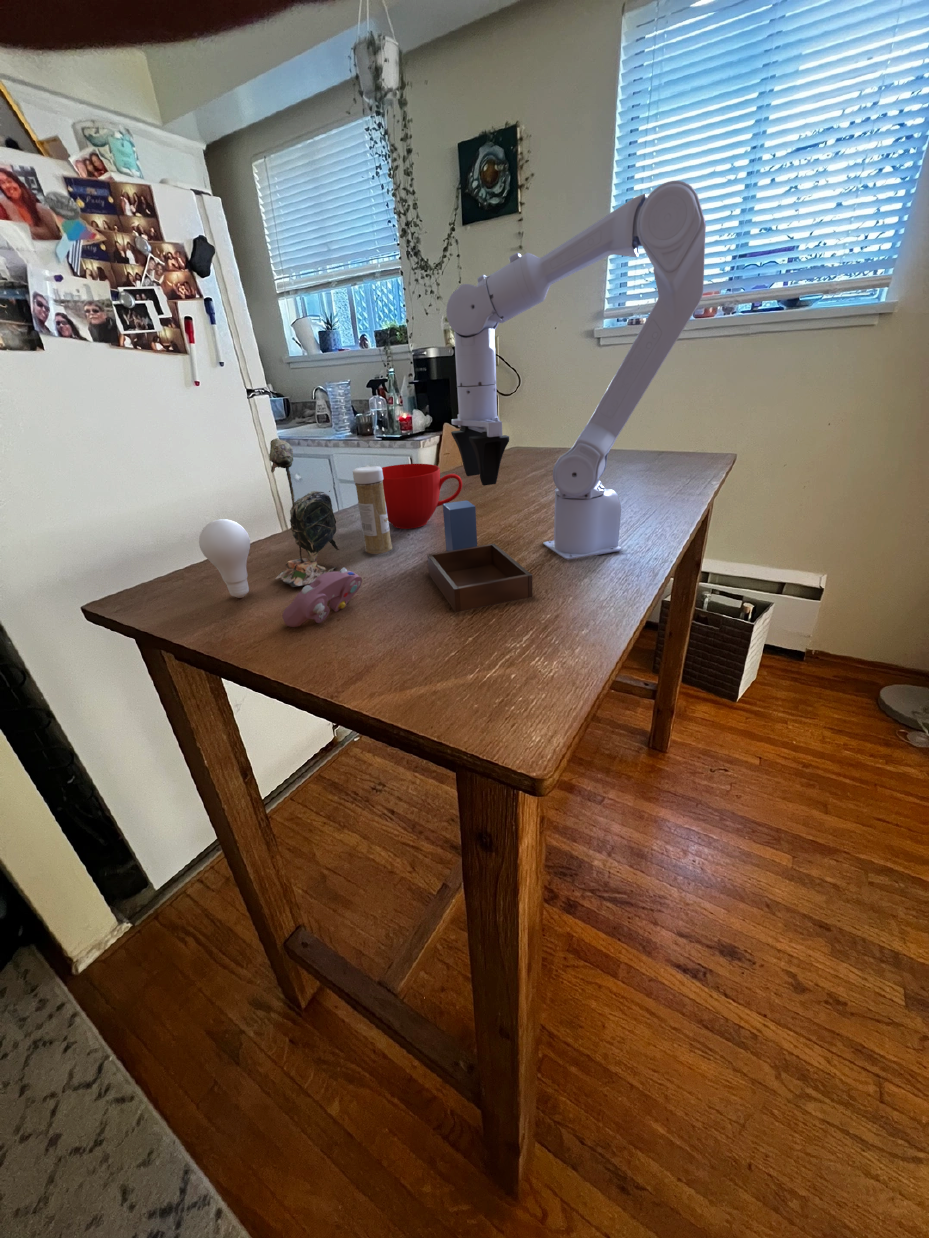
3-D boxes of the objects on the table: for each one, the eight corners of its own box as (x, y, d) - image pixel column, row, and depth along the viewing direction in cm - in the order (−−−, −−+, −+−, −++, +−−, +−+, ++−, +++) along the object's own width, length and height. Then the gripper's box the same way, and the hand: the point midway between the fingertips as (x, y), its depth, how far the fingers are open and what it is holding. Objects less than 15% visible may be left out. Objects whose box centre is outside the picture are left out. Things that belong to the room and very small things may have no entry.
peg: (469, 548, 82) (467, 500, 78) (477, 556, 78) (475, 506, 75) (446, 552, 81) (442, 503, 77) (453, 560, 77) (449, 510, 74)
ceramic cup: (464, 531, 90) (460, 474, 85) (370, 536, 91) (362, 480, 86) (464, 511, 101) (462, 460, 97) (382, 516, 102) (375, 465, 97)
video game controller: (304, 645, 60) (312, 602, 55) (277, 622, 61) (283, 579, 56) (360, 611, 67) (371, 571, 63) (336, 591, 68) (345, 551, 64)
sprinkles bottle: (397, 551, 83) (386, 467, 76) (372, 557, 81) (359, 472, 74) (385, 544, 86) (374, 464, 80) (360, 550, 84) (347, 468, 78)
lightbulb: (219, 611, 66) (193, 530, 61) (216, 594, 71) (191, 518, 66) (267, 599, 68) (246, 521, 63) (261, 584, 73) (241, 510, 68)
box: (495, 564, 75) (494, 543, 73) (532, 599, 64) (532, 574, 62) (429, 576, 72) (426, 554, 71) (456, 614, 61) (454, 589, 60)
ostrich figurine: (359, 570, 76) (337, 431, 67) (290, 594, 70) (254, 443, 60) (332, 558, 82) (308, 427, 72) (265, 579, 75) (229, 439, 66)
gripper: (437, 385, 78) (443, 474, 85) (466, 389, 66) (471, 492, 72) (479, 382, 80) (483, 469, 86) (515, 385, 68) (516, 486, 74)
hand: (480, 479), depth 79 cm, fingers open, 7 cm apart
